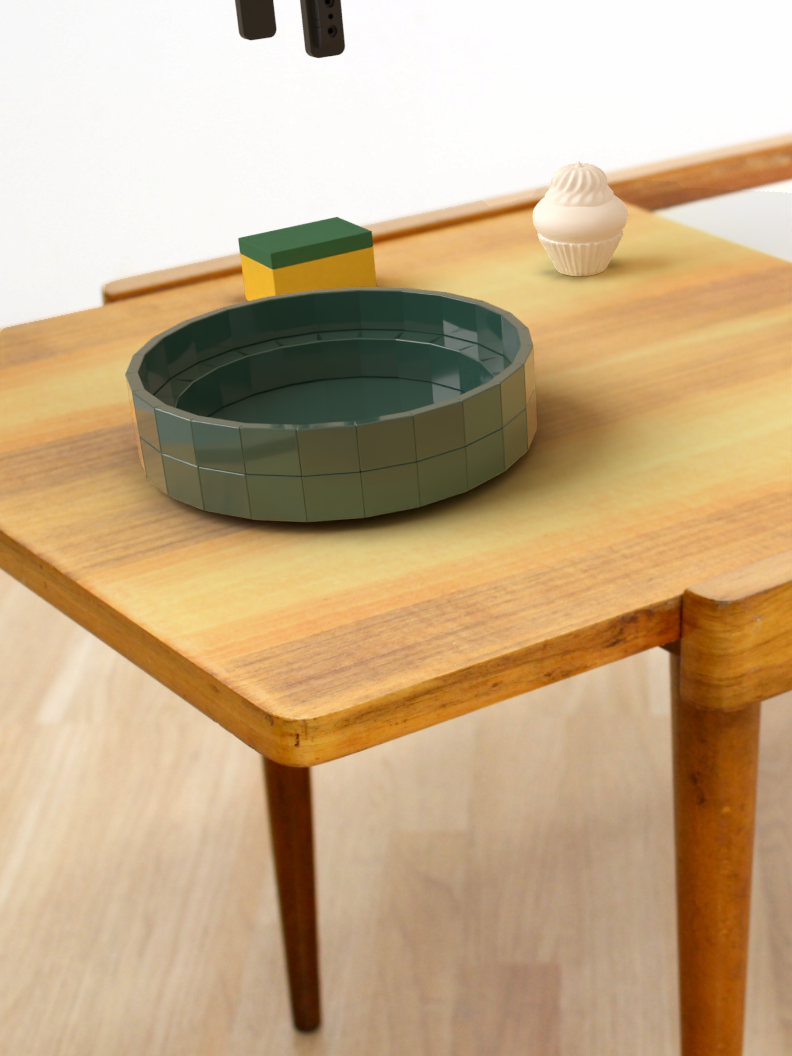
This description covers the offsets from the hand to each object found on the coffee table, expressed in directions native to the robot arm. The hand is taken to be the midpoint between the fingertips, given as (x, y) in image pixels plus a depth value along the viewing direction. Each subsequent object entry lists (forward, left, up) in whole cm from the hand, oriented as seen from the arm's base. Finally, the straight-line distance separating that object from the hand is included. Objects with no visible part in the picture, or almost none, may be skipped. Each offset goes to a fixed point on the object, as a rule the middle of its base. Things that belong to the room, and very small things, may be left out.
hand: (291, 46), depth 91 cm
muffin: (+15, -7, -15) cm, 23 cm away
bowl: (-11, -22, -15) cm, 29 cm away
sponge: (-1, 0, -15) cm, 15 cm away
